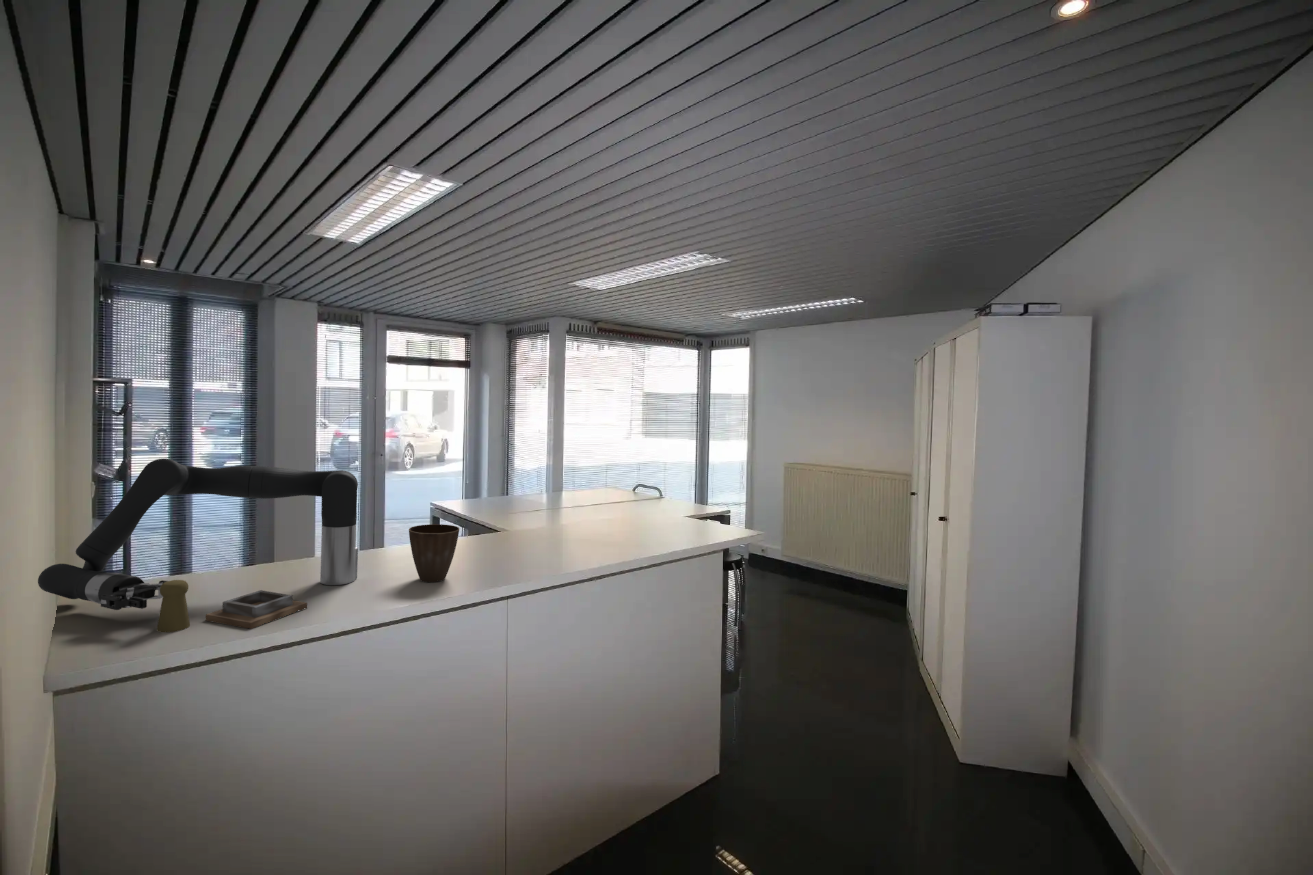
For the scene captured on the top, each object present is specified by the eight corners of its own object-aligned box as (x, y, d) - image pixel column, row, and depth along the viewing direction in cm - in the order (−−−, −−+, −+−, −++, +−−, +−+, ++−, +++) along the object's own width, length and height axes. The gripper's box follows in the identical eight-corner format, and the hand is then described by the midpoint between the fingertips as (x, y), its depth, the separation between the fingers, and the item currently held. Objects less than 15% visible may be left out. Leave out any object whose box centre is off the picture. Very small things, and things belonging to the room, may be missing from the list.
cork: (196, 623, 144) (197, 577, 143) (176, 632, 138) (177, 585, 137) (170, 622, 143) (171, 576, 143) (149, 631, 137) (150, 584, 137)
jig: (264, 601, 161) (264, 586, 161) (306, 608, 157) (307, 593, 157) (205, 620, 146) (205, 604, 145) (250, 628, 142) (251, 612, 142)
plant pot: (404, 574, 192) (406, 524, 191) (453, 570, 199) (455, 523, 198) (409, 587, 179) (411, 534, 178) (461, 583, 186) (463, 532, 185)
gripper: (80, 582, 138) (131, 590, 134) (147, 567, 152) (195, 574, 148) (79, 614, 139) (131, 624, 134) (146, 596, 152) (195, 604, 148)
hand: (165, 598), depth 141 cm, fingers open, 8 cm apart
